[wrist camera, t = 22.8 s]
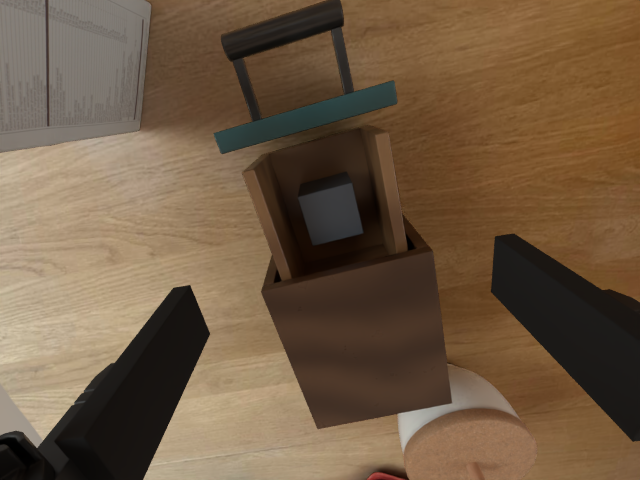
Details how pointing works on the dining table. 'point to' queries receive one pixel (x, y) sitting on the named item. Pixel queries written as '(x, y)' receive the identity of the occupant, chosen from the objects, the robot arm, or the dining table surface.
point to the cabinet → (364, 335)
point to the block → (330, 208)
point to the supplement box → (70, 70)
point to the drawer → (316, 152)
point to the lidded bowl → (467, 435)
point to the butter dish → (383, 477)
